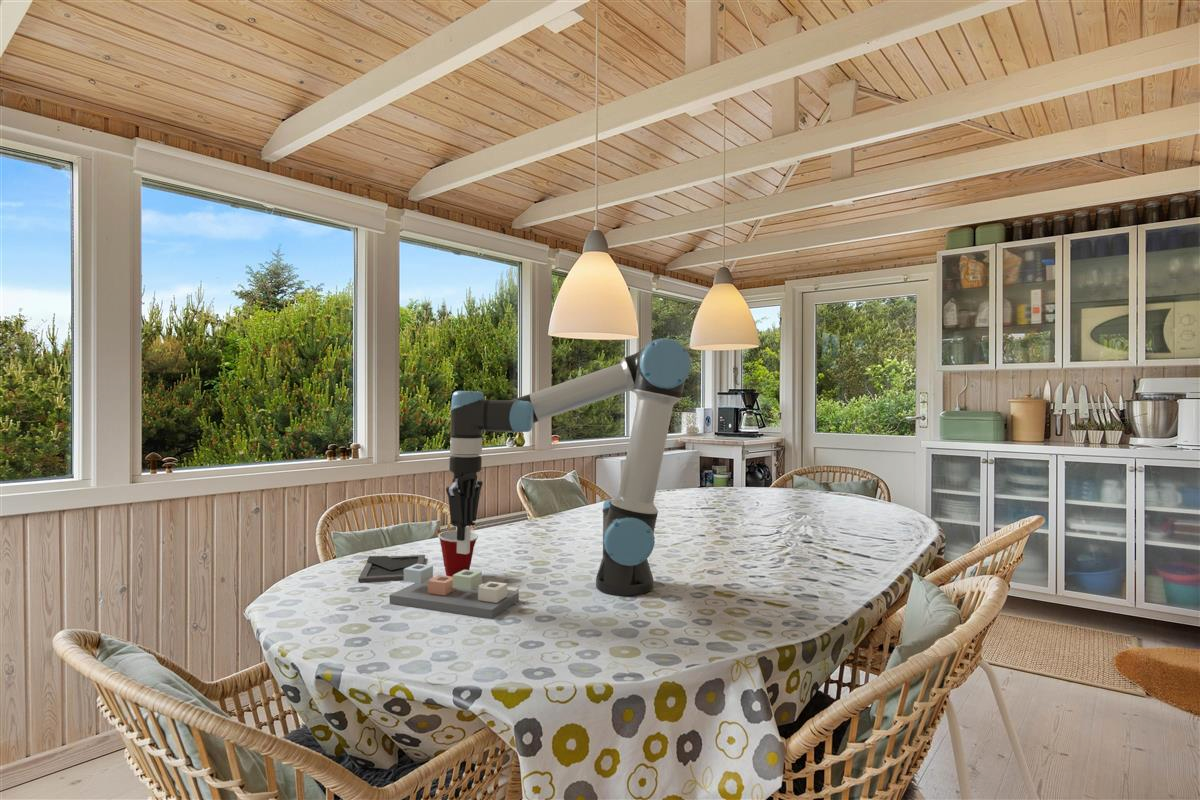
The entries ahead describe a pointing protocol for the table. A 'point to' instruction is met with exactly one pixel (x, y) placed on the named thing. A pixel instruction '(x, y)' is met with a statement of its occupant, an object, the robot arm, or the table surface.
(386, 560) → the picture frame
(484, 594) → the key ivory
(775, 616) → the table surface
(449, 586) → the key terracotta
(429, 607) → the keypad base
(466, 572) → the key sage
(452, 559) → the plastic cup
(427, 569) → the key blue
